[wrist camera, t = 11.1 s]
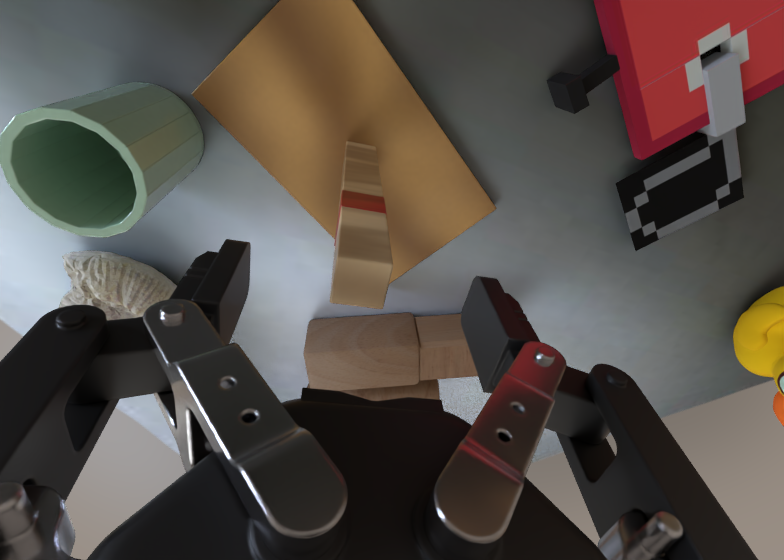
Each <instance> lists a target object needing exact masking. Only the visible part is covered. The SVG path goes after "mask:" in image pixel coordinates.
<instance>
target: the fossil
mask: <svg viewBox="0 0 784 560" xmlns="http://www.w3.org/2000/svg"><path fill="white" fill-rule="evenodd" d="M62 257H63V259H64V268H65V270H66V272H67V274H68V275H69V277H70V278H71V290H70V291H69V292H68V293H67V294H66V295H65V296H64V297H63V298H62V300H61V302H60V305H59V308H61V307H65V306H70V305H91V306H95V307H98V308H100V309H102V310H103V311H104V312H105V314H106V318H107V320H117V319H129V318H137V317H142V316H143V314H144V312H145V311H146V309H147V308H148V307H150V306H151V305H153V304H155V303H157V302H160V301H163V300H168V299H169V298H170V296H171V295H172V293H173V292H174V290H175V289H176V287H177V286H176V284H174V283H173V282H172V280H170V279H168V278H167V276H165V275H163V274H162V273H160V272H158V271H157V270H156V269H154V268H152V267H151V266H149V265H146V264H144V263H140V262H139V261H135V260H133V259H131V258H129V257H125V256H120V255H118V254H116V253H112V252H101V251H88V250H87V251H78V252H70V253H66V254H64V255H63V256H62Z"/></svg>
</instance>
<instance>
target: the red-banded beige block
mask: <svg viewBox="0 0 784 560" xmlns="http://www.w3.org/2000/svg"><path fill="white" fill-rule="evenodd" d="M386 215H387V212H386V206H385V199H384V197H383V192H382V186H381V179H380V172H379V165H378V159H377V152H376V147H375V146H370V145H365V144H360V143H355V142H349V141H347V142H346V149H345V156H344V162H343V169H342V180H341V190H340V200H339V211H338V219H337V226H336V235H335V245H334V246H335V252H334V262H333V273H332V283H331V293H330V302H331V303H337V304H345V305H352V306H360V307H368V308H376V309H382V308H383V306H384V302H385V298H386V294H387V290H388V285H389V281H390V277H391V273H392V269H393V260H392V253H391V246H390V239H389V233H388V226H387V219H386Z"/></svg>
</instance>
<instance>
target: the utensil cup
mask: <svg viewBox="0 0 784 560" xmlns="http://www.w3.org/2000/svg"><path fill="white" fill-rule="evenodd" d="M203 149H204V139H203V134H202V130H201V127H200V125H199V122H198V120H197V118H196V117H195V115H194V113H193V112H192V111H191V109H190V108H189V107H188V106H187V105H186V104H185V102H183V101H182V100H181V99H180V98H179V97H178V96H176V95H175V94H174V93H172V92H170V91H169V90H167V89H165V88H163V87H160V86H158V85H155V84H151V83H146V82H133V83H126V84H122V85H118V86H115V87H111V88H107V89H104V90H100V91H96V92H93V93H89V94H85V95H82V96H78V97H74V98H71V99H67V100H64V101H60V102H56V103H53V104H49V105H45V106H42V107H38V108H35V109H32V110H29V111H26V112H23V113H20V114H18V115H16V116H14V118H13V119H12V120H11V121H10V123H9V124H8V125H7V126H6V128H5V129H4V130H3V131H2V133H1V135H0V164H1V167H2V169H3V172H4V175H5V177H6V180H7V183H8V184H9V186H10V187H11V189H12V190H13V191H14V192H15V193H16V195H17V196H18V197H19V198H20V200H21V201H22V202H23V203H24V204H25V206H26V207H28V209H29V210H31V211H32V212H34V213H35V214H37V215H38V216H39V217H41V218H42V219H44V220H45V221H46V222H48V223H49V224H51V225H53V226H55V227H57V228H60V229H63V230H65V231H68V232H71V233H73V234H76V235H80V236H89V237H103V238H105V237H110V236H113V235H116V234H120V233H123V232H126V231H128V230H129V229H130V228H132V227H133V226H134V225H135V224H136V223H137V222H138V221H139V220H140V219H141V218H142V217H144V216H145V215H146V214H147V213H148V212H149V211H150V210H151V209H152V208H153V207H154V206H155V205H157V204H158V203H159V202H160V201H161V200H162V199H163V198H164V197H165V196H166V195H167V194H169V193H170V192H171V191H172V190H173V189H174V188H175V187H176V186H177V185H178V184H179V183H180V182H182V181H183V180H184V179H185V178H186V177H187V176H188V175H189V174H190V173H191V172H192V171H193V170H194V169H195V168H196V167H197V165H198V164H199V162H200V160H201V158H202V154H203Z"/></svg>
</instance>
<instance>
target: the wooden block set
mask: <svg viewBox="0 0 784 560" xmlns="http://www.w3.org/2000/svg"><path fill="white" fill-rule="evenodd" d="M304 359H305V364H306V369H307V374H308V379H309V384H308V387H307V388H313V389H324V390H336V391H341V392H344V393H348V394H351V395H354V396H358V397H361V398H364V399H368V400H371V401H382V400H390V399H397V398H405V397H414V398H425V399H437V400H440V396H439V385H438V380H437V379H446V378H459V377H471V376H478V374H477V371H476V368H475V365H474V362H473V359H472V356H471V353H470V350H469V347H468V344H467V341H466V338H465V335H464V332H463V329H462V326H461V314H450V315H436V316H422V317H415V318H414V316H413V314H412V313H395V314H381V315H368V316H354V317H340V318H326V319H313V320H311V321H310V322H309V324H308V329H307V335H306V342H305V348H304Z"/></svg>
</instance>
